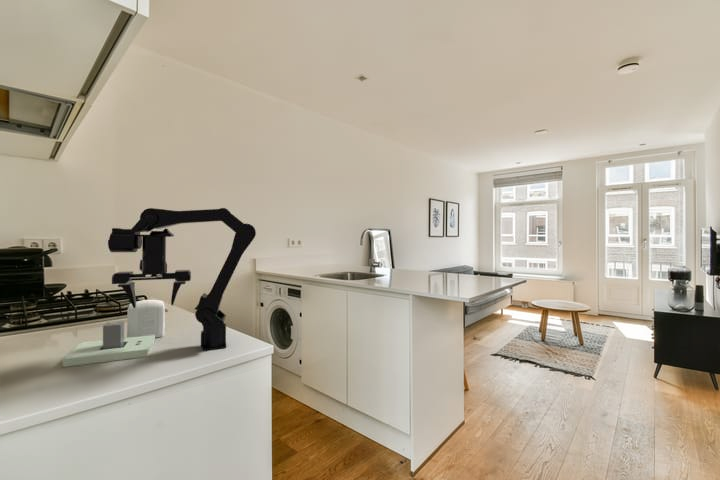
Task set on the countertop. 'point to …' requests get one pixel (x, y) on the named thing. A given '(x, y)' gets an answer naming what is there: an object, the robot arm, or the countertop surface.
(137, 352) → the outlet plate
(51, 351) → the countertop surface
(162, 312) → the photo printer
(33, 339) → the countertop surface
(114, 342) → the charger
